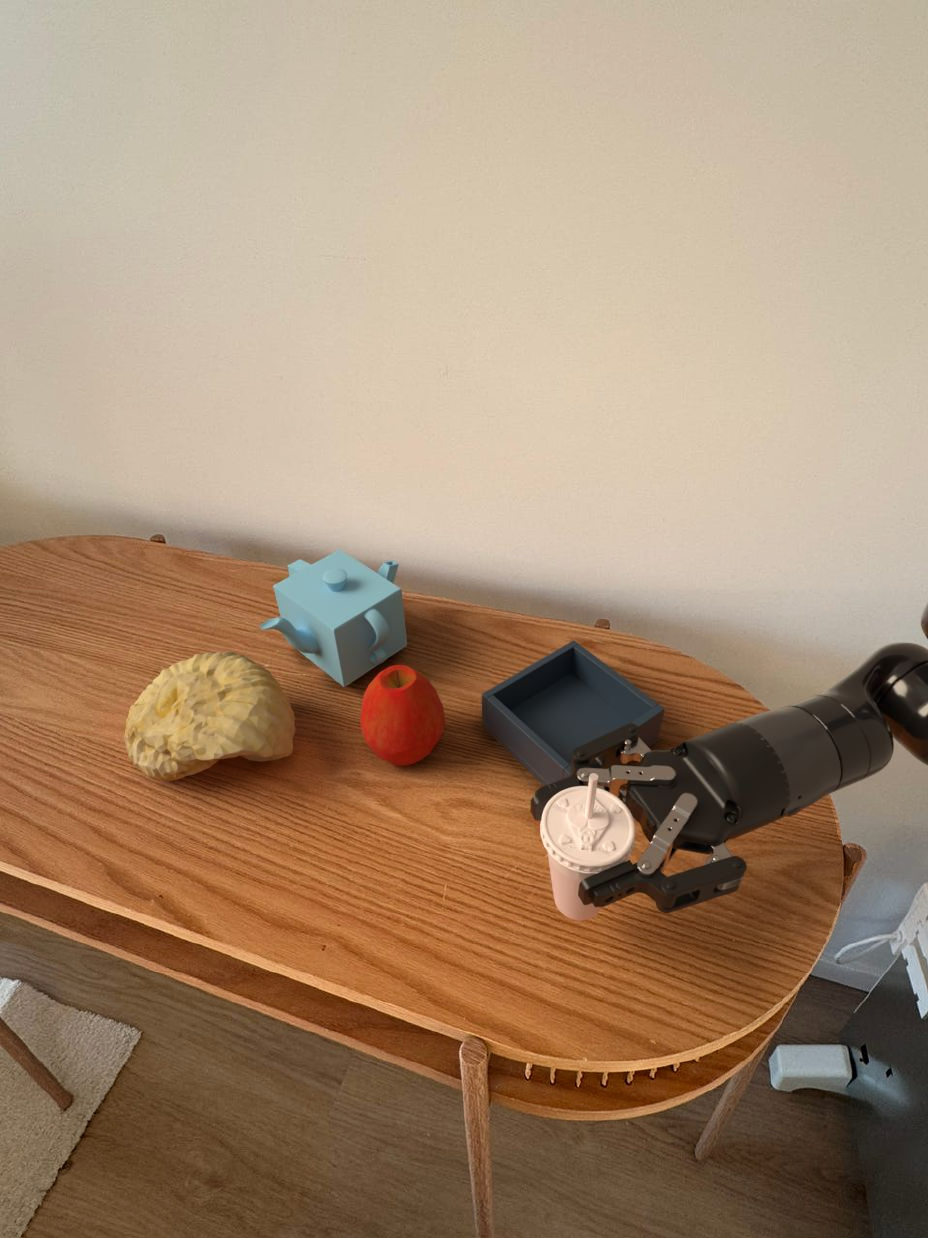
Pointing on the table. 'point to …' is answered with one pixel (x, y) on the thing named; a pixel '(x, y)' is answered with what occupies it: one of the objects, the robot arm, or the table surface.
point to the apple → (401, 716)
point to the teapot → (341, 614)
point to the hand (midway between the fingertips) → (556, 849)
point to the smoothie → (584, 841)
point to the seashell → (208, 717)
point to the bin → (564, 710)
